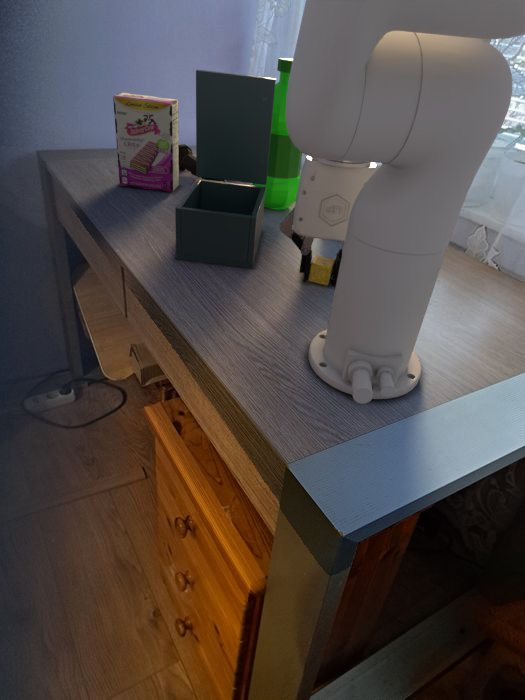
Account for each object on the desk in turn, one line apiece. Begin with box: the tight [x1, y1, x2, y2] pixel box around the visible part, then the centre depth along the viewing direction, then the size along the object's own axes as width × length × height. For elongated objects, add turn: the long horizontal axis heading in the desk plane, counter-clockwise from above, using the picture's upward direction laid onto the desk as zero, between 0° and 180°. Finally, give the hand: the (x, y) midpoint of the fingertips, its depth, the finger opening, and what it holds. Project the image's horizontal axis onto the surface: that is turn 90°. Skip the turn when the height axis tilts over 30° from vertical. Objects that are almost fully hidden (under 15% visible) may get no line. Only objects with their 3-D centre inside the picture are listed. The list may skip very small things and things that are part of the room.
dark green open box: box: [174, 178, 266, 269], centre depth 76 cm, size 15×12×8 cm
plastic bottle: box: [251, 57, 303, 211], centre depth 89 cm, size 10×10×25 cm
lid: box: [195, 69, 277, 185], centre depth 77 cm, size 15×12×6 cm
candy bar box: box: [112, 92, 180, 193], centre depth 94 cm, size 11×5×16 cm, turn 84°
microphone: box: [178, 143, 226, 182], centre depth 105 cm, size 6×6×20 cm
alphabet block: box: [307, 254, 336, 287], centre depth 70 cm, size 3×3×3 cm
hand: (320, 278), depth 71 cm, fingers closed on alphabet block, 3 cm apart
